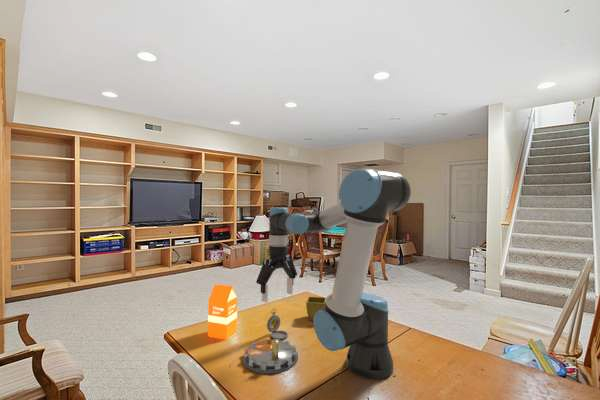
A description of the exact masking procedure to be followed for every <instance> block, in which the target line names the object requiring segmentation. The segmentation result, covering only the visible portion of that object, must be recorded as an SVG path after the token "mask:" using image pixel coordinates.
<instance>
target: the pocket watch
mask: <svg viewBox="0 0 600 400" xmlns="http://www.w3.org/2000/svg"><path fill="white" fill-rule="evenodd" d="M270 312H271V314H272V316H270V317H269V319H268V320H267V323H266V328H267V330H268V332H270V333H271V334H270V337H271V339H272V340H274V339H279V340H280V341H282V340H284V339H286V338H287V337H288V335H289V334H288V332H286V331H284V330H279V327H280V326H281V318H280V316H279V315H276V313H277V311H276V309H273V308H272V309H271V311H270Z"/></svg>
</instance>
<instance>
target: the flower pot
mask: <svg viewBox="0 0 600 400" xmlns="http://www.w3.org/2000/svg"><path fill="white" fill-rule="evenodd" d="M326 297H327V296H322V297H321V296H307V298H306V301H305V304H306V306H305V307H306V314H307V316H308V319H309V320H310V321H313V320H314V315H315V314H316V312H318V311H319V310H323V309H324V305H325V300H326Z"/></svg>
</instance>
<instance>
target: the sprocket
mask: <svg viewBox="0 0 600 400" xmlns="http://www.w3.org/2000/svg"><path fill="white" fill-rule="evenodd" d="M290 343H291V341H288V340H284V341H283V340H279V339H268V338H263V339H262V340H261V341H258V342H257V341H253V342H252V343H251V345H250V347H248V346H246V347H245V349H244V354H243V356H244V360H245V361H249V366H251V367H252V368H253V367H254V366H256V367H259V368H260V370H266V369H271V368H274V369H275V370H278V369H280V368H281V367H282V366H284V365H287V366H289V365H290V364H292V359H296V357H297V354H298V352H297V347H296V346H295V345H292V344H290Z"/></svg>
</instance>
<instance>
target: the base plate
mask: <svg viewBox="0 0 600 400" xmlns="http://www.w3.org/2000/svg"><path fill="white" fill-rule="evenodd" d="M298 360H299V354H298V353H297V357H296V359H292V364H290V365H289V366H287V365H284V366H282V367H281V368H280V369H278V370H275V369H274V368H271V369H266V370H260V368H259V367H256V366H254V367H253V368H252V367H251V366H249V361H245V360H244V355H243V356H242V364H243V365H244V368H246V369H248V370H249V371H251V372H253V373H256V374H260V375H276V374H281V373H283V372H286V371H289V370H290V369H292V368H293V367H294V366H296V365H297V363H298Z"/></svg>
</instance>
